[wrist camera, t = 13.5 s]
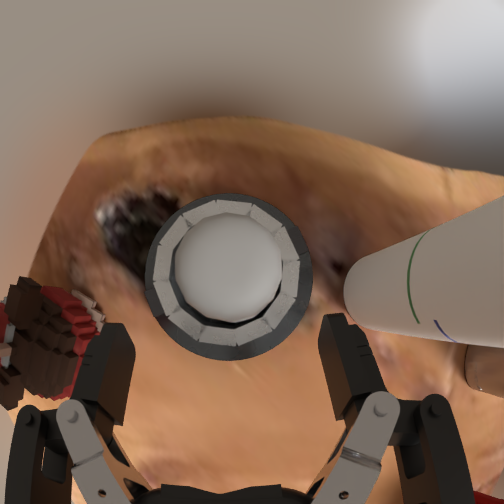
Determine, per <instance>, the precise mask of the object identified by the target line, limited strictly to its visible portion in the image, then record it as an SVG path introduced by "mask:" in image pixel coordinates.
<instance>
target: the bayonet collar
mask: <svg viewBox="0 0 504 504" xmlns="http://www.w3.org/2000/svg"><path fill="white" fill-rule="evenodd" d="M225 212H228V213H234V214H240V215H246V216H250V217H251V218H253V219H254V220H256V221H257V222H258V223H260V224H261V225H263V226H264V227H265V228H267V229H268V230H269V231H270V233H271V235H272V237H273V238H274V240H275V242H276V244H277V245H278V247H279V249H280V251H281V260H282V279H281V281H280V284H279V286H278V289H277V291H276V294H275V296H274V299H273V300H272V301H271V302H270V303H269V304H267V306H266V307H265V308H264V309H263V310H262V311H261V312H260V313H258V314H257V315H256V316H255V317H254V318H252V319H248V320H244V321H241V322H237V323H233V322H227V321H222V320H218V319H213V318H208V317H206V316H204V315H203V314H202V313H200V312H199V311H198V310H196V309H195V308H194V307H192V306H191V305H190V304H188V303H187V302H186V300H185V298H184V296H183V294H182V292H181V289H180V287H179V285H178V283H177V281H176V279H175V254H176V251H177V249H178V247H179V245H180V243H181V241H182V239H183V237H184V235H185V233H186V232H187V231H189V230H190V229H191V228H192V227H193V226H194V225H196V224H197V223H198V222H199V221H200V220H201V219H203V218H205V217H209V216H213V215H217V214H221V213H225ZM308 250H309V249H308V247H307V245H306V243H305V241H304V239H303V236H302V234H301V232H300V230H299V228H298V226H295V225H294V224H293V222H292V221H291V220H290V219H289V218H288V217H287V216H286V215H285V214H283V213H282V212H281V211H280V210H278V209H277V208H276V207H274V206H272V205H271V204H269V203H267V202H265V201H263V200H260V199H258V198H255V197H251V196H248V195H242V194H232V193H225V194H215V195H210V196H206V197H203V198H200V199H197V200H195V201H193V202H191V203H189V204H187V205H185V206H184V207H182V208H181V209H179V210H178V211H177V212H176V213H174V214H173V215H172V216H171V217H170V218H169V219H168V220H167V221H166V222H165V223H164V225H163V226H162V227H161V229H160V230H159V232H158V233H157V235H156V236H155V238H154V240H153V242H152V245H151V247H150V250H149V253H148V257H147V261H146V268H145V287H146V291H145V292H144V293H145V296H146V298H147V301H148V303H149V306H150V308H151V311H152V313H153V316H154V317H155V318H156V319H157V321H158V322H159V324H160V326H161V327H162V328H163V329H164V331H165V332H166V333H167V334H168V335H169V336H170V337H171V338H172V339H173V340H174V341H175V342H177V343H178V344H179V345H181V346H182V347H184V348H185V349H187V350H189V351H191V352H193V353H195V354H197V355H200V356H203V357H206V358H210V359H215V360H225V361H233V360H243V359H248V358H252V357H255V356H258V355H260V354H263V353H265V352H267V351H269V350H271V349H273V348H274V347H275V346H277V345H278V344H280V343H281V342H282V341H283V340H285V339H286V338H287V337H288V336H289V335H290V334H291V333H292V331H293V330H294V329H295V328H296V327H297V325H298V324H299V322H300V320H301V319H302V317H303V315H304V313H305V311H306V309H307V306H308V303H309V300H310V296H311V291H312V284H313V271H312V262H311V258H310V254H309V251H308Z"/></svg>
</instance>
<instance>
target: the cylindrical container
mask: <svg viewBox="0 0 504 504" xmlns="http://www.w3.org/2000/svg"><path fill="white" fill-rule="evenodd" d="M343 295H344V302H345V305H346V308H347V311H348V312H349V314H350V316H351V317H352V318H353V320H354V321H355V322H357V323H358V324H359V325H361V326H363V327H365V328H368V329H372V330H378V331H384V332H389V333H395V334H401V335H407V336H414V337H420V338H427V339H434V340H441V341H448V342H456V343H465V344H472V345H481V346H490V347H500V348H504V196H502V197H500V198H498V199H496V200H494V201H492V202H489V203H487V204H485V205H483V206H481V207H479V208H477V209H475V210H472V211H470V212H468V213H466V214H464V215H461V216H459V217H457V218H455V219H453V220H450V221H448V222H446V223H444V224H441V225H439V226H437V227H435V228H432V229H430V230H428V231H425V232H423V233H421V234H418V235H416V236H414V237H411V238H409V239H406V240H404V241H402V242H399V243H397V244H395V245H392V246H390V247H387V248H385V249H382V250H380V251H377V252H375V253H372V254H370V255H368V256H365V257H363V258H361V259H360V260H358V261H357V262H356V263H355V264H354V265H353V266H352V267H351V269H350V270H349V272H348V274H347V276H346V279H345V283H344V293H343Z"/></svg>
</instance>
